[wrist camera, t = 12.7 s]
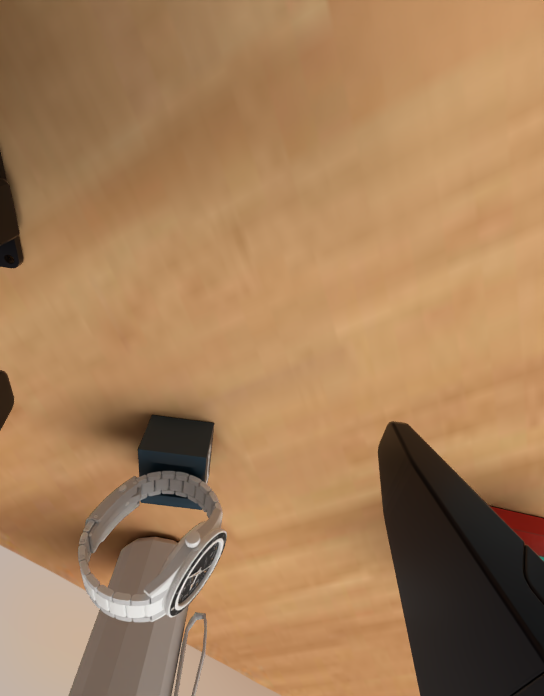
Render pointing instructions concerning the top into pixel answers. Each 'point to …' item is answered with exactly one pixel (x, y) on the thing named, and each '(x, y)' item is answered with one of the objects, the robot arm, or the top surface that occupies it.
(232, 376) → the top surface
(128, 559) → the water bottle
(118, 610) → the watch
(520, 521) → the toy robot
